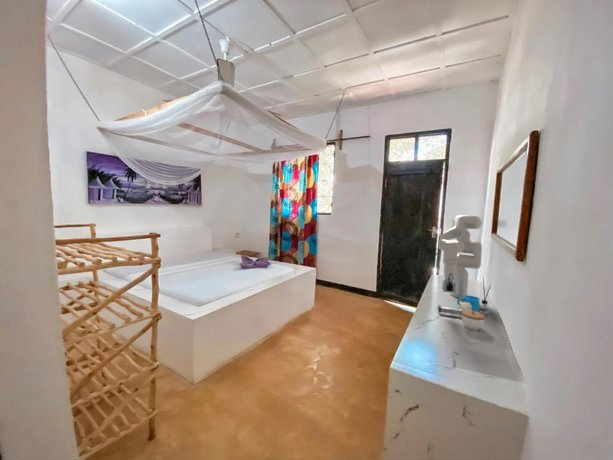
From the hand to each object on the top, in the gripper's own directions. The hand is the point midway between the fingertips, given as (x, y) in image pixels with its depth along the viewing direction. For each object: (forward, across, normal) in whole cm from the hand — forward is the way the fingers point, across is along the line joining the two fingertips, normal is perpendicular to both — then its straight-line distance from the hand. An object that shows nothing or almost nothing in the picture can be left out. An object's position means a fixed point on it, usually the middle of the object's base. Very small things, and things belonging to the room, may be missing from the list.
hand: (448, 289), depth 152 cm
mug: (+16, -12, +13) cm, 23 cm away
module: (+1, 0, 0) cm, 1 cm away
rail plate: (+15, 0, +4) cm, 16 cm away
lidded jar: (+16, +17, +10) cm, 25 cm away
